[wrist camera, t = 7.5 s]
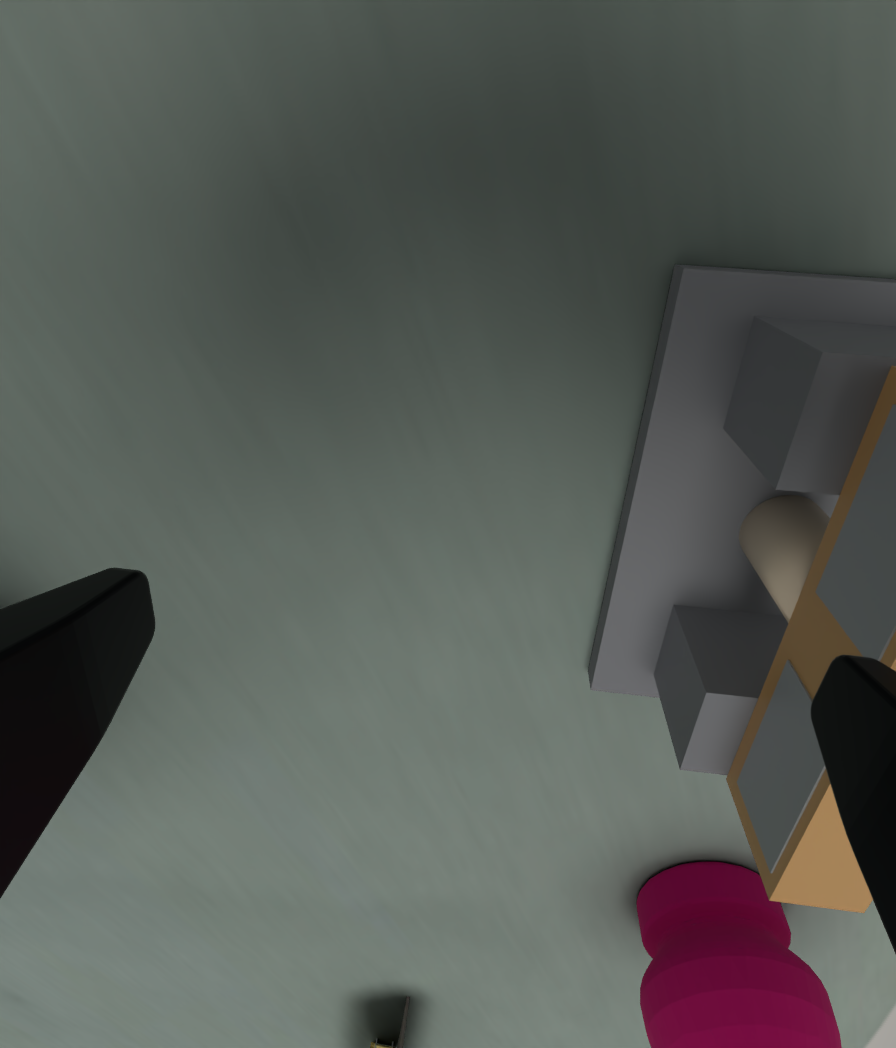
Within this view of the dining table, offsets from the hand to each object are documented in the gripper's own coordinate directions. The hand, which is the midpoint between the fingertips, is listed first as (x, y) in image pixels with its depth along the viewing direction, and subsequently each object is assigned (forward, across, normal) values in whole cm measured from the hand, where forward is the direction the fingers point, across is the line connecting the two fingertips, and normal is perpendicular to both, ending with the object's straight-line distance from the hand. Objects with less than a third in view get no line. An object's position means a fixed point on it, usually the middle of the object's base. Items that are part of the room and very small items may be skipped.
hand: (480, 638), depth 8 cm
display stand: (+11, -9, +3) cm, 15 cm away
